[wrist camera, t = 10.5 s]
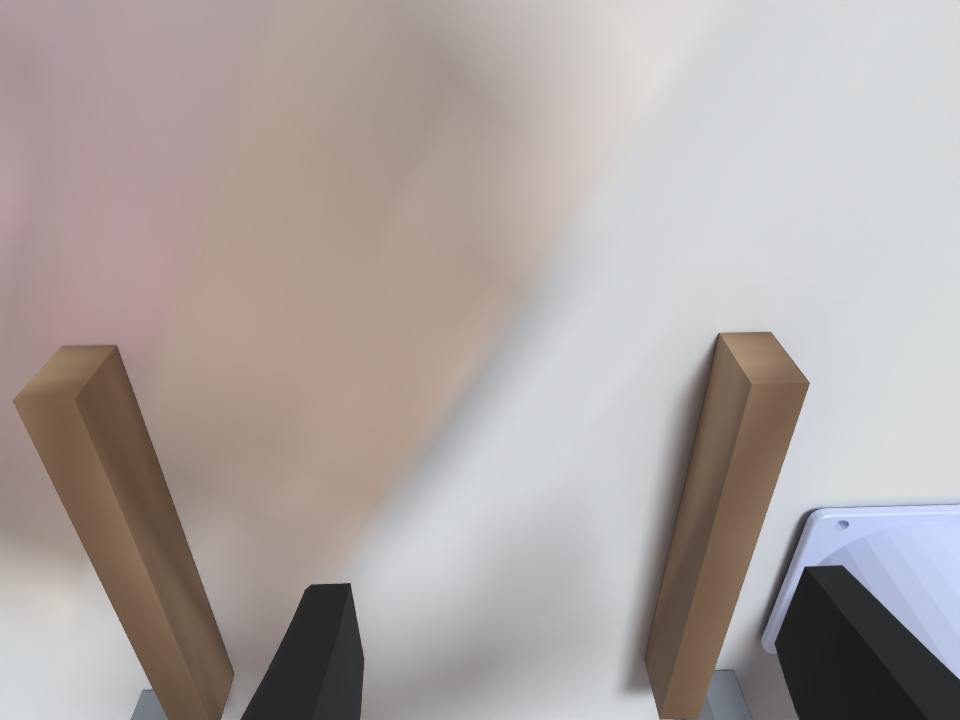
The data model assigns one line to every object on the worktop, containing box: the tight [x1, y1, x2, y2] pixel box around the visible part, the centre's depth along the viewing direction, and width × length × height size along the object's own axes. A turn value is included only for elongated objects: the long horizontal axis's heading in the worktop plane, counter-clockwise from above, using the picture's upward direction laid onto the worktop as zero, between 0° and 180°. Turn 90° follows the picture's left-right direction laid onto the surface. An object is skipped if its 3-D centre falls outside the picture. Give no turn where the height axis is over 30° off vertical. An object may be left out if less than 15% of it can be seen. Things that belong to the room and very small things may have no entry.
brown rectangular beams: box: [13, 332, 810, 720], centre depth 22 cm, size 20×16×2 cm
